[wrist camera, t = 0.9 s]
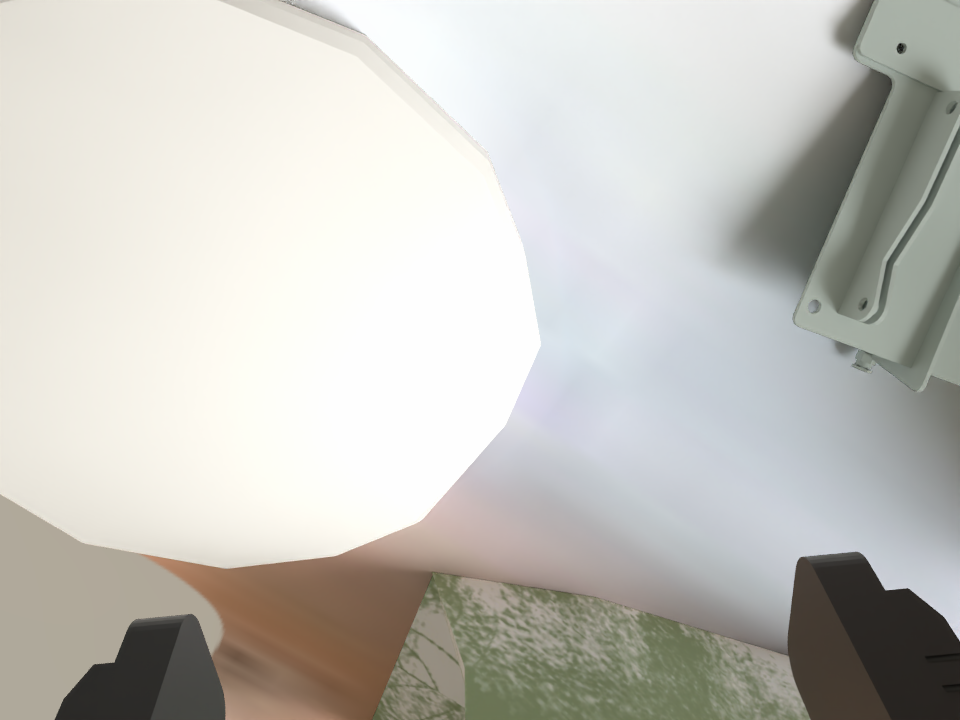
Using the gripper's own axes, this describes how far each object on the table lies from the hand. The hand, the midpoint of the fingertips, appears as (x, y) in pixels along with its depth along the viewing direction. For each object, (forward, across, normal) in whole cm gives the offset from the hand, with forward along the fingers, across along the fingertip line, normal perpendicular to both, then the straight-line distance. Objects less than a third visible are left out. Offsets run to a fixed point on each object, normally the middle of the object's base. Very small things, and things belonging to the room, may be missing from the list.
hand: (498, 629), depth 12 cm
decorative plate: (+24, +11, +6) cm, 27 cm away
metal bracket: (+25, -19, +5) cm, 31 cm away
